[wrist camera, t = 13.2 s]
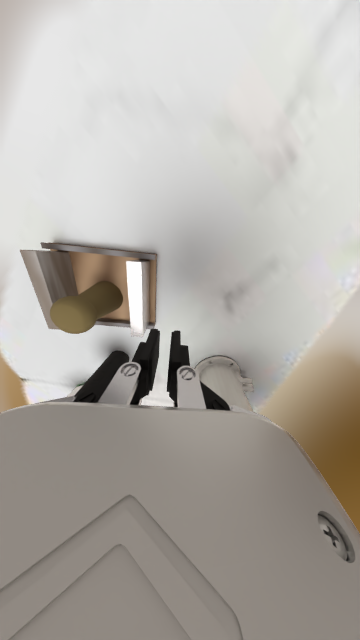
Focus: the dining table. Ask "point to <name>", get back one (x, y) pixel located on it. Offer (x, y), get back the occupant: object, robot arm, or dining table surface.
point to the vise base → (84, 277)
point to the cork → (86, 307)
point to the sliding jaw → (138, 295)
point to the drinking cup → (105, 370)
